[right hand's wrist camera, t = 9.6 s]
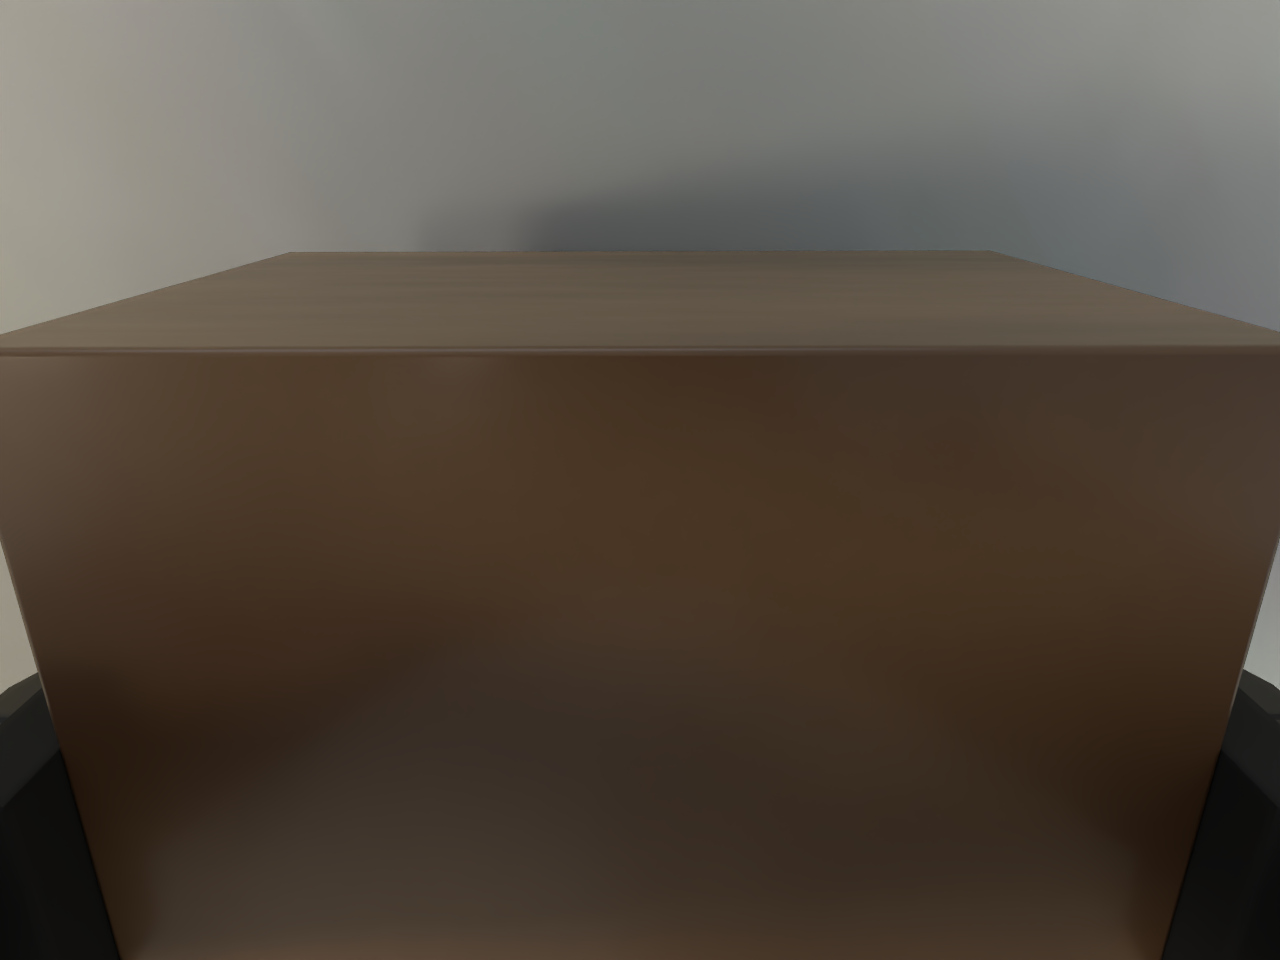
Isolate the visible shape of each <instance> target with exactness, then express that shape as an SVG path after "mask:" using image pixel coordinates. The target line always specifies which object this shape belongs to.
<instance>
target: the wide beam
mask: <svg viewBox="0 0 1280 960" xmlns="http://www.w3.org/2000/svg"><path fill="white" fill-rule="evenodd" d="M1279 539H1280V332H1277V331H1274V330H1270V329H1267V328H1263V327H1259V326H1256V325H1252V324H1249V323H1245V322H1242V321H1238V320H1235V319H1231V318H1227V317H1224V316H1220V315H1217V314H1213V313H1210V312H1206V311H1203V310H1199V309H1195V308H1192V307H1188V306H1185V305H1181V304H1178V303H1174V302H1171V301H1167V300H1163V299H1160V298H1156V297H1153V296H1149V295H1146V294H1142V293H1139V292H1135V291H1132V290H1128V289H1124V288H1121V287H1117V286H1114V285H1110V284H1107V283H1103V282H1100V281H1096V280H1092V279H1089V278H1085V277H1082V276H1078V275H1075V274H1071V273H1068V272H1064V271H1060V270H1057V269H1053V268H1050V267H1046V266H1043V265H1039V264H1036V263H1032V262H1028V261H1025V260H1021V259H1018V258H1014V257H1011V256H1007V255H1004V254H1000V253H996V252H993V251H613V252H289V253H286V254H282V255H279V256H275V257H272V258H268V259H265V260H261V261H258V262H254V263H251V264H247V265H244V266H240V267H237V268H233V269H230V270H226V271H223V272H219V273H216V274H212V275H209V276H205V277H201V278H198V279H194V280H191V281H187V282H184V283H180V284H177V285H173V286H170V287H166V288H163V289H159V290H156V291H152V292H149V293H145V294H142V295H138V296H135V297H131V298H128V299H124V300H121V301H117V302H114V303H110V304H106V305H103V306H99V307H96V308H92V309H89V310H85V311H82V312H78V313H75V314H71V315H68V316H64V317H61V318H57V319H54V320H50V321H47V322H43V323H40V324H36V325H33V326H29V327H26V328H22V329H19V330H15V331H11V332H8V333H4V334H1V335H0V541H1V544H2V548H3V551H4V555H5V558H6V562H7V565H8V569H9V572H10V576H11V579H12V583H13V586H14V590H15V593H16V597H17V600H18V604H19V607H20V611H21V614H22V618H23V621H24V625H25V628H26V632H27V635H28V639H29V642H30V646H31V649H32V653H33V656H34V660H35V663H36V667H37V670H38V674H39V677H40V681H41V684H42V688H43V691H44V695H45V698H46V702H47V705H48V709H49V712H50V716H51V719H52V723H53V726H54V730H55V733H56V737H57V740H58V744H59V748H60V751H61V755H62V758H63V762H64V765H65V769H66V772H67V776H68V779H69V783H70V786H71V790H72V793H73V797H74V800H75V804H76V807H77V811H78V814H79V818H80V821H81V825H82V828H83V832H84V835H85V839H86V842H87V846H88V849H89V853H90V856H91V860H92V863H93V867H94V870H95V874H96V877H97V881H98V884H99V888H100V891H101V895H102V898H103V902H104V905H105V909H106V912H107V916H108V919H109V923H110V926H111V930H112V933H113V937H114V940H115V944H116V947H117V951H118V954H119V958H120V960H1162V957H1163V953H1164V950H1165V946H1166V943H1167V939H1168V935H1169V932H1170V928H1171V925H1172V921H1173V918H1174V914H1175V910H1176V907H1177V903H1178V900H1179V896H1180V893H1181V889H1182V885H1183V882H1184V878H1185V875H1186V871H1187V868H1188V864H1189V860H1190V857H1191V853H1192V850H1193V846H1194V843H1195V839H1196V835H1197V832H1198V828H1199V825H1200V821H1201V818H1202V814H1203V810H1204V807H1205V803H1206V800H1207V796H1208V793H1209V789H1210V786H1211V782H1212V778H1213V775H1214V771H1215V768H1216V764H1217V761H1218V757H1219V753H1220V750H1221V746H1222V743H1223V739H1224V736H1225V732H1226V728H1227V725H1228V721H1229V718H1230V714H1231V711H1232V707H1233V703H1234V700H1235V696H1236V693H1237V689H1238V686H1239V682H1240V678H1241V675H1242V671H1243V668H1244V664H1245V661H1246V657H1247V653H1248V650H1249V646H1250V643H1251V639H1252V636H1253V632H1254V628H1255V625H1256V621H1257V618H1258V614H1259V611H1260V607H1261V604H1262V600H1263V596H1264V593H1265V589H1266V586H1267V582H1268V579H1269V575H1270V571H1271V568H1272V564H1273V561H1274V557H1275V554H1276V550H1277V546H1278V543H1279Z"/></svg>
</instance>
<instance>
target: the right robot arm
mask: <svg viewBox="0 0 1280 960" xmlns="http://www.w3.org/2000/svg"><path fill="white" fill-rule="evenodd" d="M0 960H120V958H119V954H118V951H117V947H116V944H115V940H114V937H113V933H112V930H111V926H110V923H109V919H108V916H107V912H106V909H105V905H104V902H103V898H102V895H101V891H100V888H99V884H98V881H97V877H96V874H95V870H94V867H93V863H92V860H91V856H90V853H89V849H88V846H87V842H86V839H85V835H84V832H83V828H82V825H81V821H80V818H79V814H78V811H77V807H76V804H75V800H74V797H73V793H72V790H71V786H70V783H69V779H68V776H67V772H66V769H65V765H64V762H63V758H62V755H61V751H60V748H59V744H58V740H57V737H56V733H55V730H54V726H53V723H52V719H51V716H50V712H49V709H48V705H47V702H46V698H45V695H44V691H43V688H42V684H41V681H40V677H39V674H38V672H37V673H36V674H34V675H32V676H30V677H28V678H26V679H24V680H22V681H21V682H19V683H17V684H15V685H13V686H11V687H9V688H8V689H7V690H6V691H4V692H3V693H2V694H1V695H0ZM1162 960H1280V690H1279V689H1277V688H1276V687H1275V686H1274V685H1272V684H1271V683H1269V682H1267V681H1265V680H1263V679H1261V678H1259V677H1257V676H1256V675H1254V674H1252V673H1250V672H1248V671H1246V670H1244V669H1243V671H1242V675H1241V678H1240V682H1239V686H1238V689H1237V693H1236V696H1235V700H1234V703H1233V707H1232V711H1231V714H1230V718H1229V721H1228V725H1227V728H1226V732H1225V736H1224V739H1223V743H1222V746H1221V750H1220V753H1219V757H1218V761H1217V764H1216V768H1215V771H1214V775H1213V778H1212V782H1211V786H1210V789H1209V793H1208V796H1207V800H1206V803H1205V807H1204V810H1203V814H1202V818H1201V821H1200V825H1199V828H1198V832H1197V835H1196V839H1195V843H1194V846H1193V850H1192V853H1191V857H1190V860H1189V864H1188V868H1187V871H1186V875H1185V878H1184V882H1183V885H1182V889H1181V893H1180V896H1179V900H1178V903H1177V907H1176V910H1175V914H1174V918H1173V921H1172V925H1171V928H1170V932H1169V935H1168V939H1167V943H1166V946H1165V950H1164V953H1163V957H1162Z"/></svg>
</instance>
